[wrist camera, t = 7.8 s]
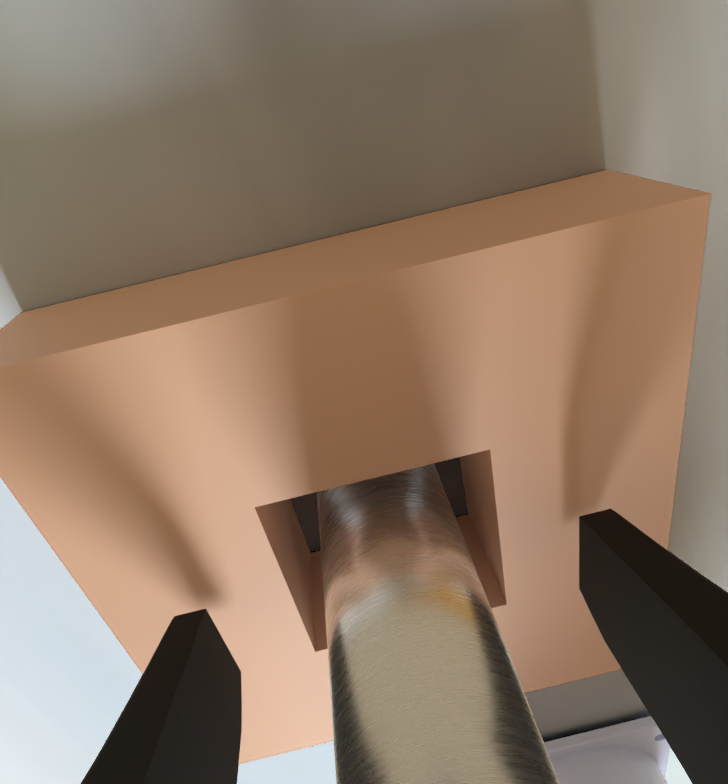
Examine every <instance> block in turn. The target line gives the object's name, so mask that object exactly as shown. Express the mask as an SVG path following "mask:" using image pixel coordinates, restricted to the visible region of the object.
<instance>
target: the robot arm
mask: <svg viewBox="0 0 728 784" xmlns="http://www.w3.org/2000/svg"><path fill="white" fill-rule="evenodd" d="M579 589H580V591H581V593H582V595H583V597H584V600H585V602H586V604H587V606H588V608H589V610H590V612H591V614H592V617H593V619H594V621H595V623H596V625H597V627H598V629H599V631H600V633H601V635H602V637H603V639H604V641H605V642H606V644H607V646H608V647H609V649H610V651H611V652H612V654H613V656H614V657H615V659H616V660H617V662H618V664H619V665H620V667H621V669H622V670H623V672H624V673H625V675H626V677H627V678H628V680H629V681H630V683H631V685H632V686H633V688H634V689H635V691H636V693H637V694H638V696H639V697H640V699H641V701H642V702H643V704H644V705H645V707H646V709H647V710H648V712H649V713H650V715H651V716H648V717H644V718H640V719H636V720H632V721H628V722H624V723H620V724H616V725H612V726H608V727H604V728H600V729H596V730H592V731H588V732H583V733H579V734H575V735H571V736H567V737H563V738H559V739H555V740H551V741H547V742H544V744H545V747H546V749H547V752H548V754H549V757H550V759H551V762H552V764H553V767H554V770H555V772H556V775H557V777H558V780H559V782H560V784H668V783H667V781H666V779H665V773H666V767H667V761H668V755H669V749H670V747H671V749H672V750H673V752H674V753H675V755H676V757H677V758H678V760H679V761H680V763H681V765H682V766H683V768H684V770H685V771H686V773H687V775H688V777H689V778H690V780H691V782H692V783H693V784H728V592H726V591H725V590H723V589H722V588H720V587H719V586H717V585H716V584H714V583H713V582H711V581H710V580H709V579H707V578H706V577H704V576H703V575H701V574H700V573H698V572H697V571H696V570H694V569H693V568H691V567H690V566H689V565H687V564H686V563H684V562H683V561H682V560H680V559H679V558H678V557H676V556H675V555H673V554H672V553H671V552H669V551H668V550H667V549H665V548H664V547H662V546H661V545H660V544H658V543H657V542H656V541H654V540H653V539H652V538H650V537H649V536H648V535H646V534H645V533H644V532H642V531H641V530H640V529H638V528H637V527H636V526H634V525H633V524H632V523H630V522H629V521H628V520H626V519H625V518H624V517H622V516H621V515H620V514H618V513H617V512H615V511H614V510H612V509H607V510H603V511H599V512H595V513H591V514H587V515H583V516H579ZM241 732H242V691H241V671H240V669H239V667H238V665H237V663H236V662H235V660H234V658H233V656H232V654H231V653H230V651H229V649H228V647H227V645H226V644H225V642H224V640H223V638H222V636H221V635H220V633H219V631H218V629H217V627H216V626H215V624H214V622H213V620H212V619H211V617H210V615H209V613H208V611H207V610H206V609H202V610H198V611H193V612H189V613H185V614H181V615H177V616H174V618H173V619H172V621H171V622H170V624H169V626H168V628H167V630H166V632H165V633H164V635H163V637H162V639H161V641H160V643H159V645H158V647H157V649H156V650H155V652H154V654H153V656H152V658H151V660H150V662H149V664H148V666H147V667H146V669H145V671H144V673H143V675H142V677H141V679H140V681H139V682H138V684H137V686H136V688H135V690H134V692H133V694H132V695H131V697H130V699H129V701H128V703H127V705H126V706H125V708H124V710H123V712H122V713H121V715H120V717H119V719H118V721H117V722H116V724H115V726H114V728H113V730H112V731H111V733H110V735H109V737H108V738H107V740H106V742H105V744H104V746H103V747H102V749H101V751H100V753H99V754H98V756H97V758H96V759H95V761H94V763H93V764H92V766H91V768H90V769H89V771H88V773H87V774H86V776H85V778H84V779H83V781H82V783H81V784H237V774H238V764H239V753H240V743H241Z"/></svg>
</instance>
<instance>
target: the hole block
mask: <svg viewBox="0 0 728 784" xmlns="http://www.w3.org/2000/svg"><path fill="white" fill-rule="evenodd" d="M710 199H711V193H707V192H702V191H698V190H693V189H689V188H685V187H680V186H676V185H672V184H667V183H663V182H659V181H654V180H650V179H646V178H641V177H637V176H633V175H628V174H624V173H620V172H615V171H611V170H603V171H599V172H595V173H591V174H587V175H583V176H579V177H575V178H571V179H567V180H562V181H558V182H554V183H550V184H546V185H542V186H538V187H534V188H530V189H526V190H521V191H517V192H513V193H509V194H505V195H501V196H497V197H493V198H489V199H485V200H480V201H476V202H472V203H468V204H464V205H460V206H456V207H452V208H448V209H444V210H439V211H435V212H431V213H427V214H423V215H419V216H415V217H411V218H407V219H403V220H398V221H394V222H390V223H386V224H382V225H378V226H374V227H370V228H366V229H362V230H357V231H353V232H349V233H345V234H341V235H337V236H333V237H329V238H325V239H321V240H316V241H312V242H308V243H304V244H300V245H296V246H292V247H288V248H284V249H280V250H275V251H271V252H267V253H263V254H259V255H255V256H251V257H247V258H243V259H238V260H234V261H230V262H226V263H222V264H218V265H214V266H210V267H206V268H202V269H197V270H193V271H189V272H185V273H181V274H177V275H173V276H169V277H165V278H161V279H156V280H152V281H148V282H144V283H140V284H136V285H132V286H128V287H124V288H120V289H115V290H111V291H107V292H103V293H99V294H95V295H91V296H87V297H83V298H79V299H74V300H70V301H66V302H62V303H58V304H54V305H50V306H46V307H42V308H38V309H33V310H29V311H25V312H21V313H20V314H19V315H18V316H16V317H15V318H14V319H13V320H11V321H10V322H9V323H8V324H6V325H5V326H4V327H3V328H1V329H0V477H1V479H2V480H3V481H4V483H5V484H6V485H7V487H8V488H9V490H10V491H11V492H12V494H13V495H14V497H15V498H16V499H17V501H18V502H19V503H20V505H21V506H22V508H23V509H24V510H25V512H26V513H27V515H28V516H29V517H30V519H31V520H32V521H33V523H34V524H35V526H36V527H37V528H38V530H39V531H40V533H41V534H42V535H43V537H44V538H45V539H46V541H47V542H48V544H49V545H50V546H51V548H52V549H53V551H54V552H55V553H56V555H57V556H58V557H59V559H60V560H61V562H62V563H63V564H64V566H65V567H66V569H67V570H68V571H69V573H70V574H71V575H72V577H73V578H74V580H75V581H76V582H77V584H78V585H79V587H80V588H81V589H82V591H83V592H84V593H85V595H86V596H87V598H88V599H89V600H90V602H91V603H92V605H93V606H94V607H95V609H96V610H97V611H98V613H99V614H100V616H101V617H102V618H103V620H104V621H105V623H106V624H107V625H108V627H109V628H110V629H111V631H112V632H113V634H114V635H115V636H116V638H117V639H118V641H119V642H120V643H121V645H122V646H123V647H124V649H125V650H126V652H127V653H128V654H129V656H130V657H131V659H132V660H133V661H134V663H135V664H136V665H137V667H138V668H139V670H140V671H141V672H142V674H143V673H144V671H145V669H146V667H147V666H148V664H149V662H150V660H151V658H152V656H153V654H154V652H155V650H156V649H157V647H158V645H159V643H160V641H161V639H162V637H163V635H164V633H165V632H166V630H167V628H168V626H169V624H170V622H171V621H172V619H173V618H174V616H177V615H181V614H185V613H189V612H193V611H198V610H202V609H206V610H207V611H208V613H209V615H210V617H211V619H212V620H213V622H214V624H215V626H216V627H217V629H218V631H219V633H220V635H221V636H222V638H223V640H224V642H225V644H226V645H227V647H228V649H229V651H230V653H231V654H232V656H233V658H234V660H235V662H236V663H237V665H238V667H239V669H240V671H241V691H242V732H241V743H240V753H239V764H242V763H246V762H250V761H254V760H258V759H262V758H266V757H270V756H274V755H278V754H282V753H286V752H290V751H294V750H298V749H302V748H306V747H310V746H314V745H318V744H322V743H327V742H331V741H334V737H333V722H332V707H331V693H330V678H329V663H328V649H327V634H326V619H325V605H324V590H323V575H322V561H321V551H317V552H313V553H310V550H309V547H308V545H307V542H306V539H305V537H304V534H303V531H302V528H301V526H300V523H299V520H298V518H297V515H296V512H295V509H294V507H293V504H292V501H291V498H295V497H299V496H303V495H307V494H311V493H315V492H319V491H323V490H327V489H331V488H335V487H339V486H343V485H348V484H352V483H356V482H360V481H364V480H368V479H372V478H376V477H380V476H384V475H388V474H392V473H396V472H400V471H404V470H409V469H413V468H417V467H421V466H425V465H429V464H433V463H437V462H441V461H445V460H449V459H453V458H457V457H460V461H461V468H462V475H463V482H464V489H465V496H466V503H467V510H468V515H464V516H459V517H456V520H457V523H458V525H459V528H460V530H461V533H462V535H463V538H464V540H465V543H466V545H467V548H468V551H469V553H470V556H471V558H472V561H473V563H474V566H475V568H476V571H477V573H478V576H479V579H480V581H481V584H482V586H483V589H484V591H485V594H486V596H487V599H488V601H489V604H490V607H491V609H492V612H493V614H494V617H495V619H496V622H497V624H498V627H499V629H500V632H501V635H502V637H503V640H504V642H505V645H506V647H507V650H508V652H509V655H510V657H511V660H512V663H513V665H514V668H515V670H516V673H517V675H518V678H519V680H520V683H521V685H522V688H523V691H524V693H528V692H532V691H536V690H540V689H544V688H548V687H552V686H556V685H560V684H564V683H569V682H573V681H577V680H581V679H585V678H589V677H593V676H597V675H601V674H605V673H609V672H613V671H617V670H621V667H620V665H619V664H618V662H617V660H616V659H615V657H614V656H613V654H612V652H611V651H610V649H609V647H608V646H607V644H606V642H605V641H604V639H603V637H602V635H601V633H600V631H599V629H598V627H597V625H596V623H595V621H594V619H593V617H592V614H591V612H590V610H589V608H588V606H587V604H586V602H585V600H584V597H583V595H582V593H581V591H580V589H579V516H583V515H587V514H591V513H595V512H599V511H603V510H607V509H612V510H614V511H615V512H617V513H618V514H620V515H621V516H622V517H624V518H625V519H626V520H628V521H629V522H630V523H632V524H633V525H634V526H636V527H637V528H638V529H640V530H641V531H642V532H644V533H645V534H646V535H648V536H649V537H650V538H652V539H653V540H654V541H656V542H657V543H658V544H660V545H661V546H662V547H664V548H665V549H667V550H668V544H669V536H670V527H671V519H672V511H673V503H674V495H675V486H676V478H677V470H678V462H679V454H680V445H681V437H682V429H683V421H684V413H685V404H686V396H687V388H688V380H689V372H690V363H691V355H692V347H693V339H694V330H695V322H696V314H697V306H698V298H699V289H700V281H701V273H702V265H703V257H704V248H705V240H706V232H707V224H708V216H709V207H710Z"/></svg>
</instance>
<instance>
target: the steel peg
mask: <svg viewBox="0 0 728 784" xmlns="http://www.w3.org/2000/svg"><path fill="white" fill-rule="evenodd" d="M317 502H318V517H319V531H320V546H321V561H322V575H323V590H324V605H325V619H326V634H327V649H328V663H329V678H330V693H331V707H332V722H333V737H334V751H335V766H336V781H337V784H560V782H559V780H558V777H557V775H556V772H555V770H554V767H553V764H552V762H551V759H550V757H549V754H548V752H547V749H546V747H545V744H544V742H543V739H542V736H541V734H540V731H539V729H538V726H537V724H536V721H535V719H534V716H533V714H532V711H531V708H530V706H529V703H528V701H527V698H526V696H525V693H524V691H523V688H522V685H521V683H520V680H519V678H518V675H517V673H516V670H515V668H514V665H513V663H512V660H511V657H510V655H509V652H508V650H507V647H506V645H505V642H504V640H503V637H502V635H501V632H500V629H499V627H498V624H497V622H496V619H495V617H494V614H493V612H492V609H491V607H490V604H489V601H488V599H487V596H486V594H485V591H484V589H483V586H482V584H481V581H480V579H479V576H478V573H477V571H476V568H475V566H474V563H473V561H472V558H471V556H470V553H469V551H468V548H467V545H466V543H465V540H464V538H463V535H462V533H461V530H460V528H459V525H458V523H457V520H456V517H455V515H454V512H453V510H452V507H451V505H450V502H449V500H448V497H447V495H446V492H445V489H444V487H443V484H442V482H441V479H440V477H439V474H438V472H437V469H436V467H435V464H434V463H433V464H429V465H425V466H421V467H417V468H413V469H409V470H404V471H400V472H396V473H392V474H388V475H384V476H380V477H376V478H372V479H368V480H364V481H360V482H356V483H352V484H348V485H343V486H339V487H335V488H331V489H327V490H323V491H319V492H317Z"/></svg>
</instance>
